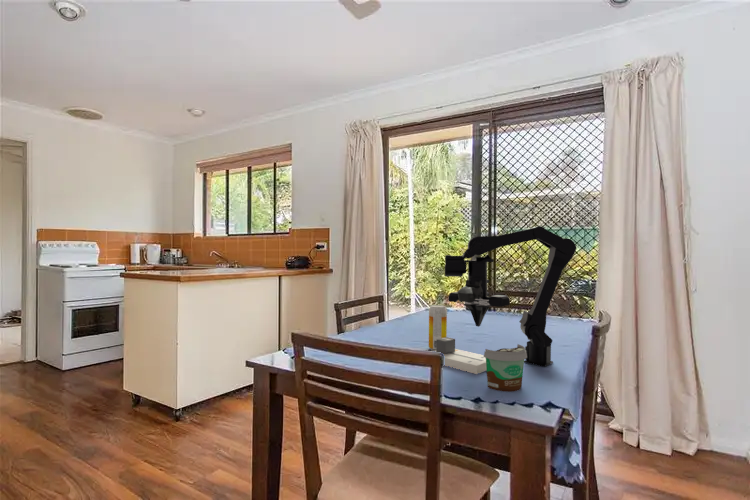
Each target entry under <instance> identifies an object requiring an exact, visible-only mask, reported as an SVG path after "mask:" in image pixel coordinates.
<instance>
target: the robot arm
mask: <svg viewBox="0 0 750 500" xmlns="http://www.w3.org/2000/svg"><path fill="white" fill-rule="evenodd" d="M534 240H536V241H537V242H539V243H540V244H542V245H543V246H544V247H546V248H547V249H549V251H548V259H547V260H548V261H547V268H546V270H545V273H544V275H543V278H542V280H541V283H540V286H539V288H538V291H537V293H536V297H535V299H534V302H533V305H532V307H531V308H530V309H529V311H526V310H523V311H522V316H521V318H520V320H519V323H520V328H519V329H520V330H521V332H522V333H523V334H524V335H525V336H526V337H527V340H528V341H526V346H524V347H525V350H526V353H527V358H526V359H524V364H530V365H534V366H539V367H542V368H545V367H547V366H550V365H552V364H553V363H554V361H552V360H551V359H552V343H553V339H552V338H551V337H550V336H549V335H548V334H547V333H546V332H545V331H546V326H547V312H548V310H549V307H550V305H551V301H552V299H553V296H554V294H555V292H556V289H557V286H558V283H559V281H560V278H561V275H562V272H563V270H564V269H565V268H566V267H567V265H568V264H569V262H570V261H571V260H572V258H573V256H574V255H575V254H576V252H577V245H576V243H575V242H574V241H573V240H572V239H570V238H566V237H564V238H563V237H562V236H561V235H559V234H556V233H553V232H552V231H550V230H548V229H546V228H545V227H544V226H540V225H537V226H534V227H531V228H527V229H523V230H518V231H513V232H508V233H504V234H500V235H499V234H498V235H485V236H484V235H481V236H480V235H479V236H474V237H472V238H470V239H469V240H468V242H467V249H466V250H465V251H464V252H463V253H462V255H450V254H446V255H445V257H444V258H445V259H444V260H445V261H444V277H464V274H467V269H468V276H467V277H468V278H467V279H466V280H465V284H464V286H463V287H461V288H460V289H459V290H457V291H454V292H452V291H451V292H449V294H448V297H447V299H448V302H449V303H450V302H451V303H457V302H458V301H459V302H460V303H463V306H464V307H467V308H468V310H469V311H470V313H471V315H472V318H473V321H474V323H475V327H478V328H479V327H480V326H481V325H482V322H483V320H484V318H485V316H486V313H487V312H488V310H489V309H490V307H497V308H502V307H506V306H510V304H511V299H510V297H509V296H508V295H503V294H495V295H490V292H488V284H489V283H490V279H488V263H493V262H494V259H493V258H491V256H490V254H487V253H489V252H491V251H493V250H496V249H499V248H501V247H507V246H511V245H515V244H516V245H517V244H521V243H525V242H526V243H527V242H530V241H534ZM483 254H486V255H484V256H481V255H483ZM474 256H475V258H474V259H472V258H473V257H474ZM465 259H466V260H465ZM467 259H468V260H467ZM471 259H472V260H471ZM467 264H468V265H467ZM467 266H468V267H467Z"/></svg>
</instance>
